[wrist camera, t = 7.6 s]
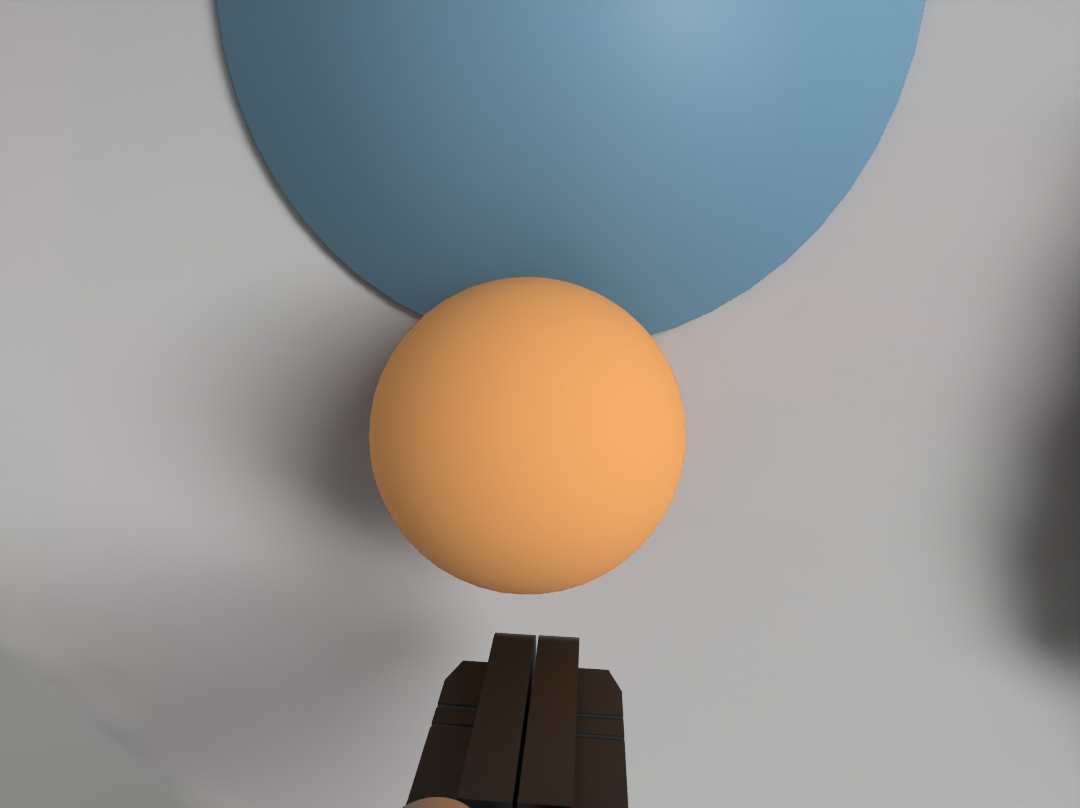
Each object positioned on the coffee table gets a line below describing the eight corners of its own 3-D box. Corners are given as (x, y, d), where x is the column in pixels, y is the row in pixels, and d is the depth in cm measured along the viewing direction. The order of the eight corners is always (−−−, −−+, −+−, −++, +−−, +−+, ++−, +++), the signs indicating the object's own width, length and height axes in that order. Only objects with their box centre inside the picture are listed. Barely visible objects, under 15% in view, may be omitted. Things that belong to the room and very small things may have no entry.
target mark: (179, -438, 11) (172, -449, 11) (992, -471, 11) (999, -484, 10) (253, 336, 15) (248, 337, 15) (866, 356, 14) (870, 358, 14)
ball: (400, 595, 14) (426, 349, 16) (670, 607, 14) (666, 352, 16) (290, 573, 9) (345, 212, 11) (716, 591, 9) (704, 210, 10)
